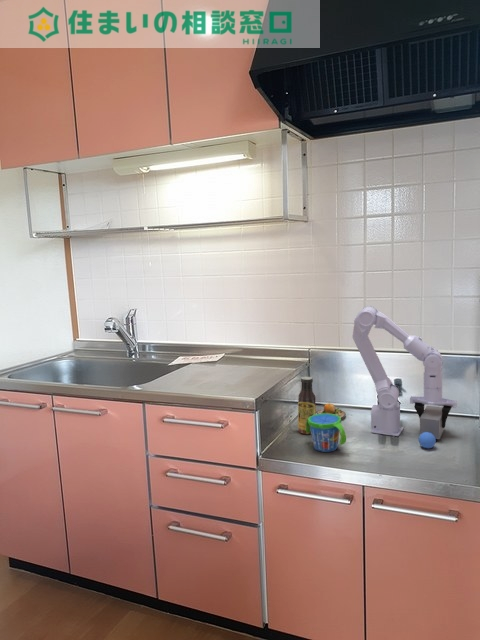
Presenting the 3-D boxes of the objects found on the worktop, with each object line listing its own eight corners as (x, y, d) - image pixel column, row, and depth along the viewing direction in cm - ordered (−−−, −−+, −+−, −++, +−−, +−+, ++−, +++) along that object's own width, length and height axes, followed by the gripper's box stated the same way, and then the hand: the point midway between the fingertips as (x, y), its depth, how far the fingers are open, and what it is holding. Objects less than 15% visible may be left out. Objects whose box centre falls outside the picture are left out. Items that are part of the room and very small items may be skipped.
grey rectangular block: (420, 436, 162) (419, 418, 161) (427, 423, 173) (426, 405, 172) (439, 439, 159) (439, 420, 158) (445, 425, 170) (445, 407, 169)
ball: (419, 428, 158) (420, 440, 160) (417, 437, 154) (418, 450, 156) (436, 429, 156) (436, 442, 158) (434, 439, 152) (435, 452, 154)
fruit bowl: (350, 415, 191) (349, 396, 190) (340, 425, 181) (339, 405, 180) (320, 411, 197) (320, 393, 196) (309, 421, 187) (308, 402, 186)
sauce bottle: (296, 434, 174) (293, 379, 171) (301, 428, 180) (298, 375, 177) (314, 435, 172) (312, 380, 169) (318, 429, 177) (316, 375, 175)
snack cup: (297, 445, 165) (296, 416, 163) (321, 437, 170) (320, 408, 169) (329, 460, 152) (328, 429, 150) (354, 451, 157) (353, 420, 155)
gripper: (407, 387, 164) (408, 426, 166) (454, 392, 157) (454, 432, 159) (412, 382, 170) (412, 420, 172) (457, 386, 163) (457, 425, 165)
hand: (433, 425), depth 166 cm, fingers closed on grey rectangular block, 6 cm apart
